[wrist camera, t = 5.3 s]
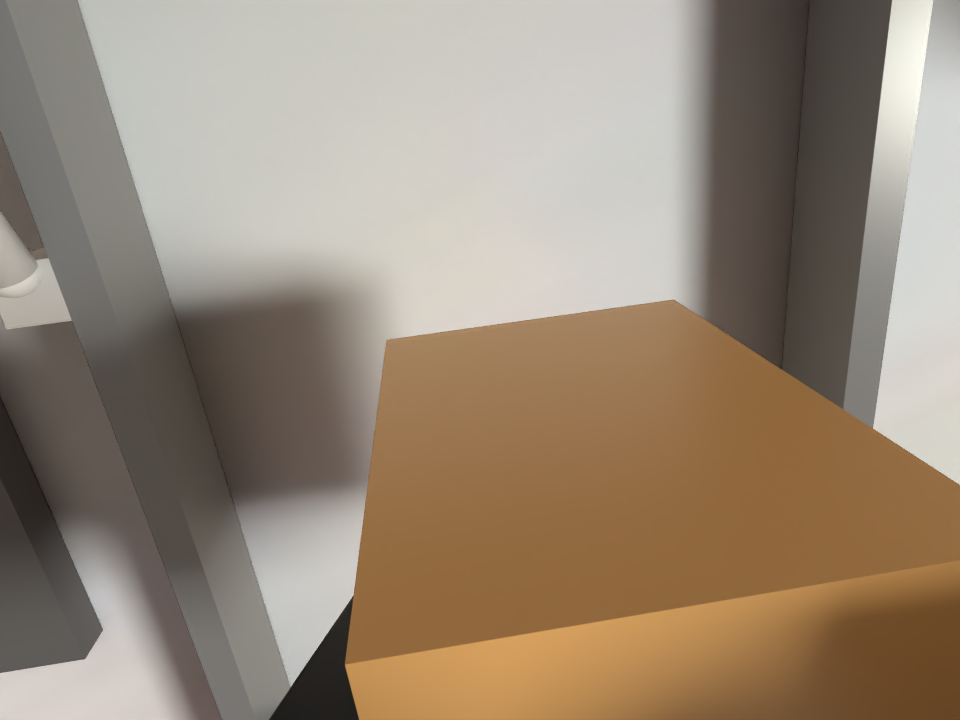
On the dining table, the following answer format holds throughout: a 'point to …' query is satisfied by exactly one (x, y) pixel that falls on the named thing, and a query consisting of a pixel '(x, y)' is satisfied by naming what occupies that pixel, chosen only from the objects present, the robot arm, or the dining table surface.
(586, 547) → the block
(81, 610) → the rubber mat
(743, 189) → the dining table surface
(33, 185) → the case
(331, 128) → the dining table surface
